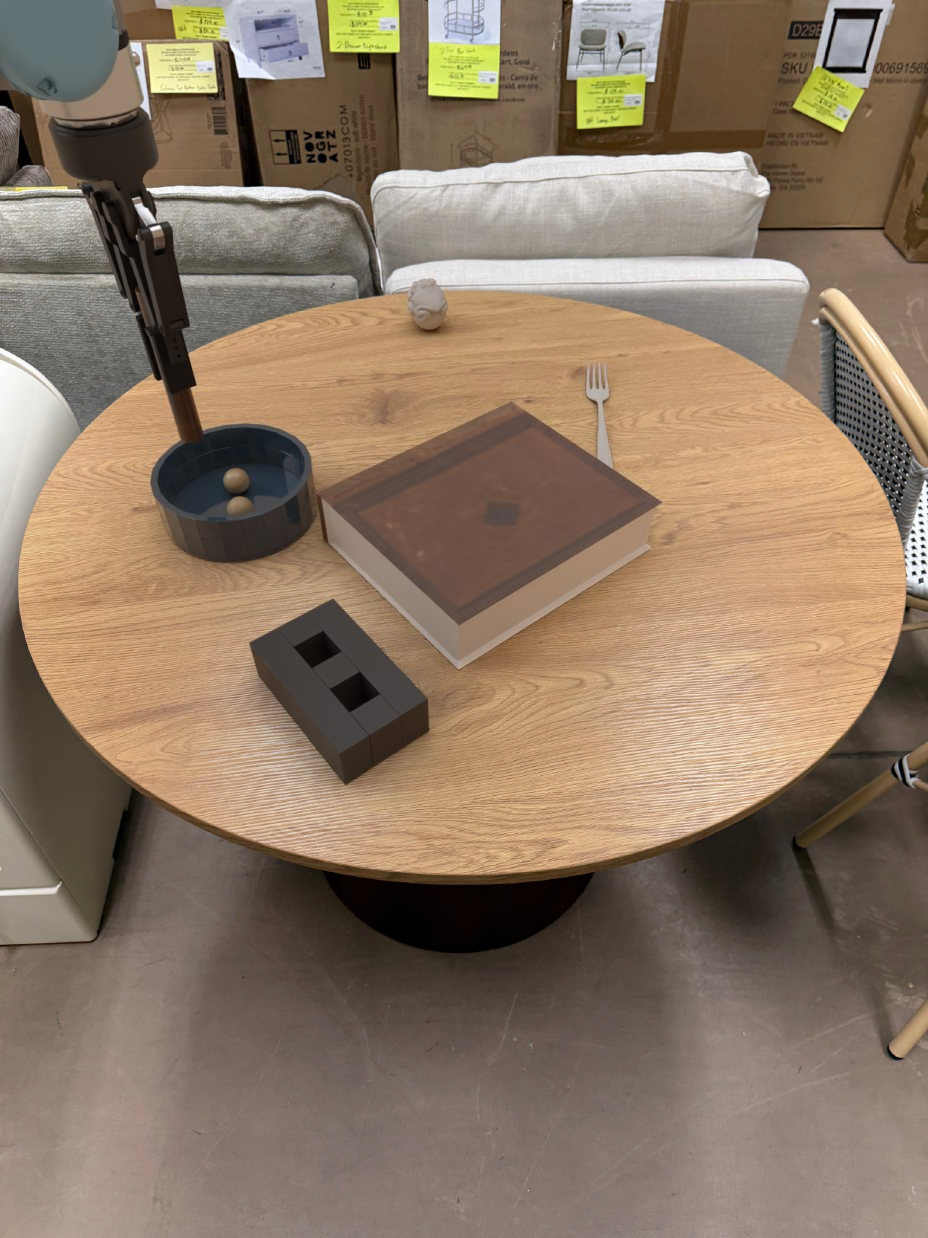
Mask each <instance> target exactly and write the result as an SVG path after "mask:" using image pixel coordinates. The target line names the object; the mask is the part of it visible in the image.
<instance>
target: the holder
mask: <svg viewBox="0 0 928 1238" xmlns="http://www.w3.org/2000/svg"><path fill="white" fill-rule="evenodd" d="M249 648H250V652H251V655H252V659H253V661H254V665H255V669H256V672H257V676H258V677H259V679H260V680H262V682H263V684H264V685H265V686H266V688H268V690H269V691H270V692H271V693H272V695H273V696H274V698H275V699H276V700H277V701H278V703H279V704H280V705H281V707H282V708H283V709H284V710H285V711H286V712H287V714H288V715H289V716H290V717H291V719H292V720H293V721H294V723H295V724H296V725H297V727H299V729H300V730H301V732H302V733H303V734H304V735H305V736H306V738H307V739H308V740H309V741H310V743H311V744H312V745H313V746H314V748H315V749H316V750H317V752H318V753H319V754H320V756H321V757H322V758H323V759H324V760H325V762H326V763H327V764H328V765H329V767H330V768H331V769H332V771H333V772H334V773H335V774H336V775H337V777H338V778H339V779H340V781H341V782H342V783H343V784H344V785H348V784H349V783H350V782H353V781H354V780H355V779H357V778H359V777H360V776H361V775H363V774H364V773H366V772H368V771H369V770H370V769H373V767H376V766H377V765H379V764H380V763H382V762H383V761H385V760H386V759H389V758H390V757H391V756H392V755H394V754H396V753H397V752H399V751H400V750H402V749H403V748H405V747H407V746H408V745H409V744H412V743H413V742H414V741H416V740H417V739H419V738H420V737H422V736H423V735H425V734H426V733H428V732H429V731H430V718H429V716H430V715H429V712H430V711H429V698H428V697H427V696H426V695H425V694H424V693H423V692H422V690H420V688H419V687H418V686H417V685H416V684H415V683H414V682H413V681H412V680H411V679H410V677H409V676H407V674H405V673H404V671H403V670H402V669H401V668H400V667H399V666H398V665H397V664H396V663H395V662H394V661H393V660H392V659H391V658H390V657H389V655H388V654H387V653H385V651H384V650H382V648H381V647H380V646H379V645H378V644H377V643H376V641H374V640H373V639H372V638H371V637H370V636H369V634H367V633H366V631H365V630H364V629H363V628H362V626H360V625H359V624H358V623H357V622H356V621H355V619H354V618H353V617H352V616H351V615H350V614H348V612H347V611H346V610H345V609H344V608H343V607H342V606H341V605H340V604H339V603H338V602H337V601H336V600H335V599H334V598H331V599H329V600H327V601H325V602H323V603H321V604H320V605H318V606H316V607H314V608H312V609H310V610H307V612H304V613H302V614H300V615H299V616H297V617H295V618H293V619H291V620H289V621H287V622H285V623H284V624H282V625H279V626H278V627H276V628H274V629H272V630H270V631H268V632H267V633H265V634H263V635H261V636H259V637H257V638H255V639H253V640H251V641H250V642H249Z"/></svg>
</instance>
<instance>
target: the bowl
mask: <svg viewBox="0 0 928 1238" xmlns="http://www.w3.org/2000/svg"><path fill="white" fill-rule="evenodd" d="M202 430H203V434H204V435H203V437H202V439H200V440H199V441H197V442H193V443H186V442H183V441H182V440H181V439H180V440H179V441H177V442H176V443H174V444H173V445H171V446H170V447H169V448H168V449H166V450H165V452H164V453H163V454H162V455H161V456H160V457H158V459H157V461H156V463H155V464H154V465H153V467H152V469H151V474H150V481H149V485H150V489H151V492H152V495H153V499H154V501H155V504H156V507H157V510H158V513H159V515H160V518H161V521H162V524H163V527H164V530H165V532H166V534H167V536H168V537H169V540H170V541H171V542H172V543H173V544H174V545H175V546H176V547H177V548H179V550H181V551H183V552H184V553H186V554H188V555H190V556H192V557H195V558H198V559H201V560H205V561H209V562H215V563H216V562H217V563H242V562H251V561H254V560H258V559H262V558H265V557H268V556H271V555H274V554H276V553H279V552H281V551H283V550H285V549H286V548H289V547H290V546H291V545H293V544H294V543H296V542H297V541H299V539H301V538H302V537H303V536H304V535H305V534H306V533H307V532H308V530H309V529H310V528H311V527H312V525H313V524H314V521H315V519H316V517H317V513H318V511H319V509H318V503H317V496H316V492H318V491H317V484H316V479H315V478H316V477H315V472H314V471H315V470H314V465H313V459H312V455H311V454H310V452H309V449H308V447H307V446H306V444H304V442H302V440H300V439H299V438H298V437H297V436H296V435H293V434H292V433H290V432H288V431H286V430H283V429H282V428H279V427H276V426H275V427H274V426H270V425H267V424H261V423H247V422H246V423H245V422H244V423H243V422H242V423H231V424H223V425H219V426H214V427H210V428H206V429H202ZM233 468H239V469H242V470H244V471H245V472H246V473H247V474H248V476H249V479H250V484H249V487H248V489H247V490H246V491H245V492H243V493H241V494H233V493H231V492H229V491H228V490H227V489H226V488H225V486H224V483H223V478H224V475H225V473H226V472H227V471H228V470H230V469H233ZM238 496H242V497H246V498H248V499H249V500H250V501H251V502H252V504H253V506H254V512H250V513H246V514H242V515H237V516H228V514H227V505H228V503H229V501H230V500H231V499H233V498H235V497H238Z"/></svg>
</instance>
